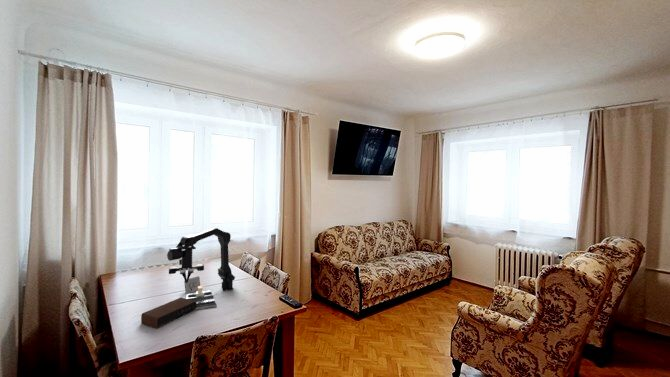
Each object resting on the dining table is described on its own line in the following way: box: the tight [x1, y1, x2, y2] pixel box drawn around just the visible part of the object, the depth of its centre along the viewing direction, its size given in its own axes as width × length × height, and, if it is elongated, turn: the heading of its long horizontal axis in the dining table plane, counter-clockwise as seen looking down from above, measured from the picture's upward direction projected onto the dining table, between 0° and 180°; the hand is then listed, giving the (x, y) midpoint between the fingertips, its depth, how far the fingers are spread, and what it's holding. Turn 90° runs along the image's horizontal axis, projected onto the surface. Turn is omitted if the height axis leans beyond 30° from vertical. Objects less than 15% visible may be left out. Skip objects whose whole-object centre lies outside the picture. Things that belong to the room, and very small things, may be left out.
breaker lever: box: [195, 285, 205, 297], centre depth 175 cm, size 4×4×6 cm
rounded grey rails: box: [195, 302, 217, 311], centre depth 165 cm, size 17×4×1 cm, turn 117°
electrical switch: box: [184, 275, 201, 294], centre depth 190 cm, size 9×5×9 cm, turn 141°
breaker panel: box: [185, 289, 216, 306], centre depth 175 cm, size 16×18×4 cm
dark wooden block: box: [140, 297, 197, 330], centre depth 154 cm, size 24×12×6 cm, turn 157°
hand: (186, 282), depth 172 cm, fingers closed
